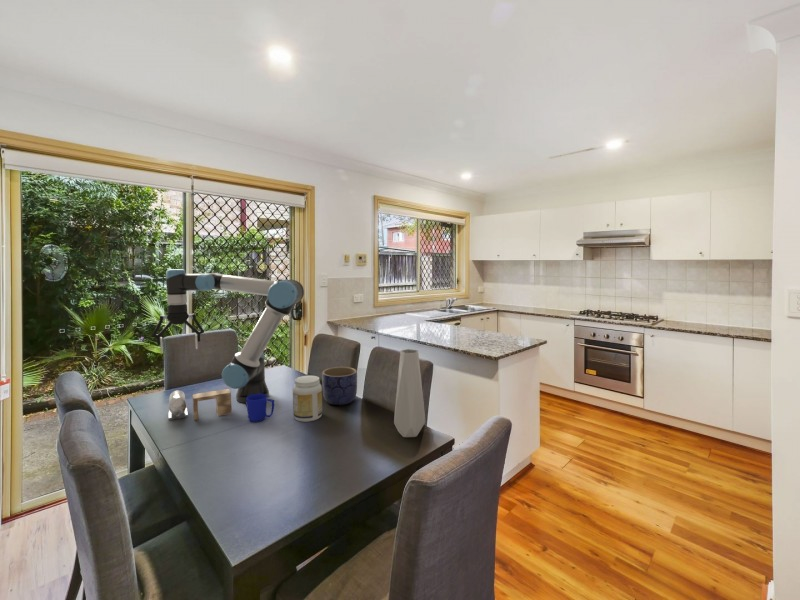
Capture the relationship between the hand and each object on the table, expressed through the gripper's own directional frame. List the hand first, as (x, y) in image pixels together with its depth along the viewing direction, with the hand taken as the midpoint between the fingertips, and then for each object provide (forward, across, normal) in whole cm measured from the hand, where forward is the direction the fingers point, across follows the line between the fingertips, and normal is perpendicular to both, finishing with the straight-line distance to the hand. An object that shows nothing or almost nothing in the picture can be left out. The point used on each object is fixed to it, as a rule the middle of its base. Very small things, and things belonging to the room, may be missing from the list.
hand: (179, 350), depth 170 cm
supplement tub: (+27, -46, +40) cm, 67 cm away
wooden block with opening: (+27, -11, +16) cm, 33 cm away
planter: (+27, -65, +30) cm, 76 cm away
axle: (+21, +2, +9) cm, 23 cm away
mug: (+27, -28, +33) cm, 51 cm away
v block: (+27, +2, +9) cm, 28 cm away
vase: (+27, -74, +76) cm, 110 cm away
